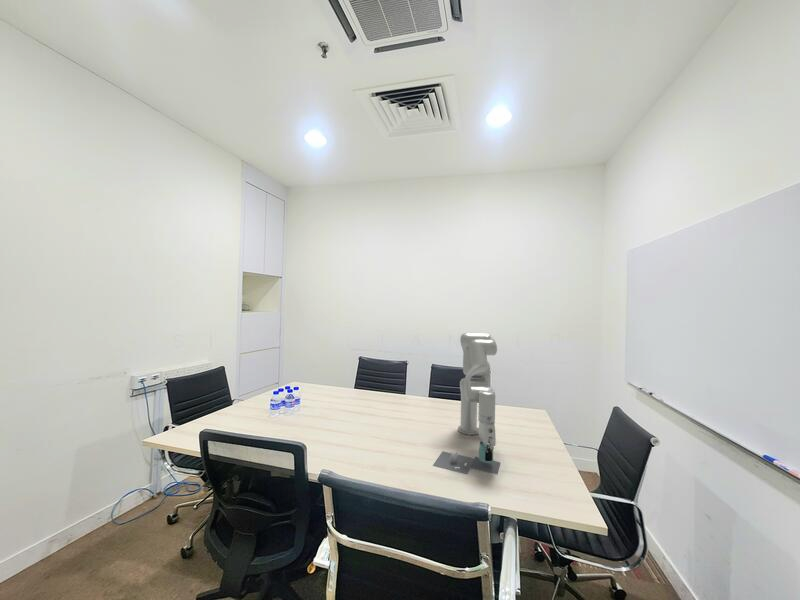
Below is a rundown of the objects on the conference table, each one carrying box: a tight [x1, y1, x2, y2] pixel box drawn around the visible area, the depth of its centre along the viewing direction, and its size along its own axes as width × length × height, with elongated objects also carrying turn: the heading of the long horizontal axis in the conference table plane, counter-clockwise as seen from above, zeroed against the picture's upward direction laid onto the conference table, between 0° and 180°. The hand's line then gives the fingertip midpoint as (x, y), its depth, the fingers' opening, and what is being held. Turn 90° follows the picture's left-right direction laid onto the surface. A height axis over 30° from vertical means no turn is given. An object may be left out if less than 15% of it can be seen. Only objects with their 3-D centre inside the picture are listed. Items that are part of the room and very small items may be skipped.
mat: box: [470, 456, 501, 476], centre depth 144 cm, size 12×12×1 cm
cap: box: [478, 443, 494, 463], centre depth 144 cm, size 6×6×6 cm
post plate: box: [432, 450, 475, 475], centre depth 147 cm, size 16×16×5 cm
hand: (485, 456), depth 144 cm, fingers closed on cap, 6 cm apart
